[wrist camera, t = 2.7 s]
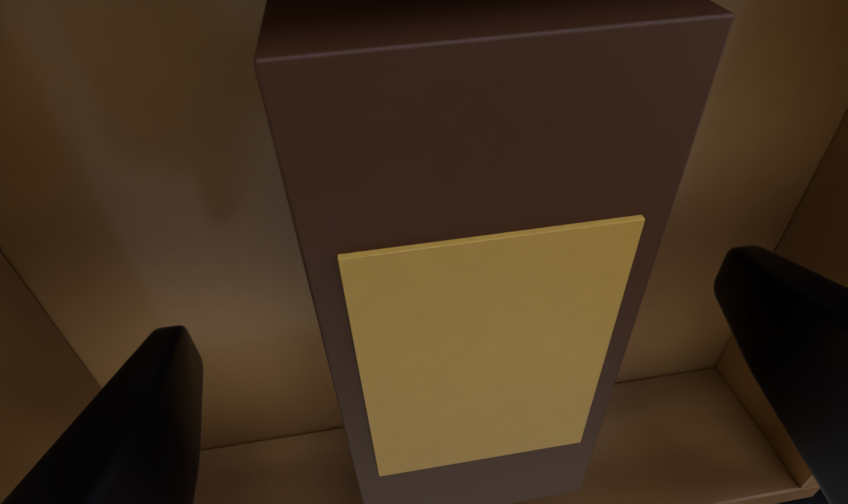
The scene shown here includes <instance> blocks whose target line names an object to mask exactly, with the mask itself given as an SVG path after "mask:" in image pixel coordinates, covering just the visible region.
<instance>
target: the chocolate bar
mask: <svg viewBox="0 0 848 504" xmlns="http://www.w3.org/2000/svg"><path fill="white" fill-rule="evenodd" d="M733 21H734V13H733V12H731V11H729V10H727V9H725V8H723V7H722V6H720V5H718V4H716V3H714V2H712V1H710V0H266V5H265V10H264V14H263V19H262V24H261V28H260V33H259V38H258V42H257V47H256V52H255V57H254V62H253V64H254V68H255V72H256V76H257V80H258V84H259V88H260V92H261V96H262V100H263V104H264V108H265V112H266V116H267V120H268V124H269V128H270V132H271V136H272V140H273V144H274V148H275V152H276V156H277V160H278V164H279V168H280V172H281V176H282V180H283V184H284V188H285V192H286V196H287V200H288V204H289V208H290V212H291V216H292V220H293V224H294V228H295V232H296V236H297V240H298V244H299V248H300V252H301V256H302V260H303V264H304V268H305V272H306V276H307V280H308V284H309V288H310V292H311V296H312V300H313V304H314V308H315V312H316V316H317V320H318V324H319V328H320V333H321V337H322V341H323V345H324V349H325V353H326V357H327V361H328V365H329V369H330V373H331V377H332V381H333V385H334V389H335V393H336V397H337V401H338V405H339V409H340V413H341V417H342V421H343V425H344V429H345V433H346V437H347V441H348V445H349V449H350V453H351V457H352V461H353V465H354V469H355V473H356V477H357V481H358V485H359V489H360V493H361V497H362V501H363V504H509V503H515V502H520V501H526V500H531V499H537V498H543V497H548V496H554V495H559V494H565V493H570V492H576V491H580V489H581V486H582V483H583V480H584V477H585V474H586V471H587V468H588V465H589V462H590V459H591V455H592V452H593V449H594V446H595V443H596V440H597V437H598V434H599V431H600V428H601V425H602V422H603V419H604V416H605V413H606V410H607V406H608V403H609V400H610V397H611V394H612V391H613V388H614V385H615V382H616V379H617V376H618V373H619V370H620V367H621V364H622V361H623V357H624V354H625V351H626V348H627V345H628V342H629V339H630V336H631V333H632V330H633V327H634V324H635V321H636V318H637V315H638V312H639V308H640V305H641V302H642V299H643V296H644V293H645V290H646V287H647V284H648V281H649V278H650V275H651V272H652V269H653V266H654V263H655V260H656V256H657V253H658V250H659V247H660V244H661V241H662V238H663V235H664V232H665V229H666V226H667V223H668V220H669V217H670V214H671V211H672V207H673V204H674V201H675V198H676V195H677V192H678V189H679V186H680V183H681V180H682V177H683V174H684V171H685V168H686V165H687V162H688V158H689V155H690V152H691V149H692V146H693V143H694V140H695V137H696V134H697V131H698V128H699V125H700V122H701V119H702V116H703V113H704V109H705V106H706V103H707V100H708V97H709V94H710V91H711V88H712V85H713V82H714V79H715V76H716V73H717V70H718V67H719V64H720V61H721V57H722V54H723V51H724V48H725V45H726V42H727V39H728V36H729V33H730V30H731V27H732V24H733Z"/></svg>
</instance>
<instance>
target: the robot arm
mask: <svg viewBox="0 0 848 504" xmlns="http://www.w3.org/2000/svg"><path fill="white" fill-rule="evenodd" d="M713 288H714V294H715V297H716V299H717V301H718V303H719V305H720V308H721V310H722V312H723V314H724V316H725V318H726V321H727V323H728V325H729V327H730V329H731V331H732V333H733V336H734V338H735V340H736V342H737V344H738V346H739V348H740V351H741V353H742V355H743V357H744V359H745V361H746V363H747V365H748V367H749V369H750V371H751V373H752V375H753V376H754V378H755V380H756V382H757V384H758V385H759V387H760V389H761V390H762V392H763V394H764V395H765V397H766V399H767V400H768V402H769V404H770V405H771V407H772V409H773V410H774V412H775V414H776V415H777V417H778V419H779V420H780V422H781V424H782V425H783V427H784V429H785V430H786V432H787V433H788V435H789V437H790V438H791V440H792V442H793V443H794V445H795V447H796V448H797V450H798V452H799V453H800V455H801V457H802V458H803V460H804V462H805V463H806V465H807V467H808V468H809V470H810V472H811V473H812V475H813V477H814V478H815V480H816V482H817V483H818V485H819V487H820V489H819V490H818V491H817V492H816V493H815V494H814V495H813V496H812V497H807V498H801V499H796V500H791V501H785V502H780V503H775V504H848V288H847V287H845V286H843V285H840V284H838V283H836V282H834V281H832V280H830V279H828V278H826V277H824V276H821V275H819V274H817V273H815V272H813V271H811V270H809V269H807V268H804V267H802V266H800V265H798V264H796V263H794V262H792V261H790V260H787V259H785V258H783V257H781V256H779V255H777V254H775V253H773V252H771V251H768V250H766V249H764V248H762V247H760V246H757V245H747V246H740V247H734V248H731V249H730V250H729V251H728V252H727V253H726V255H725V257H724V260H723V262H722V264H721V266H720V269H719V271H718V273H717V276H716V278H715V280H714V285H713ZM202 395H203V362H202V359H201V356H200V354H199V352H198V350H197V348H196V346H195V344H194V342H193V340H192V338H191V336H190V334H189V332H188V330H187V329H186V328H185V327H184V326H182V325H175V326H168V327H161V328H157V329H155V330H154V331H153V332H152V333H151V334H150V335H149V336H148V337H147V338H146V339H145V341H144V342H143V343H142V344H141V345H140V346H139V347H138V348H137V350H136V351H135V352H134V353H133V354H132V355H131V356H130V358H129V359H128V360H127V361H126V362H125V363H124V364H123V365H122V367H121V368H120V369H119V370H118V371H117V372H116V373H115V375H114V376H113V377H112V378H111V379H110V380H109V381H108V383H107V384H106V385H105V386H104V387H103V388H102V389H101V390H100V392H99V393H98V394H97V395H96V396H95V397H94V398H93V400H92V401H91V402H90V403H89V404H88V405H87V406H86V407H85V409H84V410H83V411H82V412H81V413H80V414H79V415H78V417H77V418H76V419H75V420H74V421H73V422H72V423H71V425H70V426H69V427H68V428H67V429H66V430H65V431H64V432H63V434H62V435H61V436H60V437H59V438H58V439H57V440H56V442H55V443H54V444H53V445H52V446H51V447H50V448H49V449H48V451H47V452H46V453H45V454H44V455H43V456H42V457H41V459H40V460H39V461H38V462H37V463H36V464H35V465H34V466H33V468H32V469H31V470H30V471H29V472H28V473H27V474H26V476H25V477H24V478H23V479H22V480H21V481H20V482H19V484H18V485H17V486H16V487H15V488H14V489H13V490H12V491H11V493H10V494H9V495H8V496H7V497H6V498H5V499H4V501H3V502H2V503H1V504H193V502H194V496H195V490H196V484H197V477H198V470H199V462H200V447H201V421H202Z"/></svg>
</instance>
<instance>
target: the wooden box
mask: <svg viewBox="0 0 848 504" xmlns="http://www.w3.org/2000/svg"><path fill="white" fill-rule="evenodd" d="M710 1H712V2H714V3H716V4H718V5H720V6H722V7H723V8H725V9H727V10H729V11H731V12H733V13H734V21H733V24H732V27H731V30H730V33H729V36H728V39H727V42H726V45H725V48H724V51H723V54H722V57H721V61H720V64H719V67H718V70H717V73H716V76H715V79H714V82H713V85H712V88H711V91H710V94H709V97H708V100H707V103H706V106H705V109H704V113H703V116H702V119H701V122H700V125H699V128H698V131H697V134H696V137H695V140H694V143H693V146H692V149H691V152H690V155H689V158H688V162H687V165H686V168H685V171H684V174H683V177H682V180H681V183H680V186H679V189H678V192H677V195H676V198H675V201H674V204H673V207H672V211H671V214H670V217H669V220H668V223H667V226H666V229H665V232H664V235H663V238H662V241H661V244H660V247H659V250H658V253H657V256H656V260H655V263H654V266H653V269H652V272H651V275H650V278H649V281H648V284H647V287H646V290H645V293H644V296H643V299H642V302H641V305H640V308H639V312H638V315H637V318H636V321H635V324H634V327H633V330H632V333H631V336H630V339H629V342H628V345H627V348H626V351H625V354H624V357H623V361H622V364H621V367H620V370H619V373H618V376H617V379H616V382H615V385H614V388H613V391H612V394H611V397H610V400H609V403H608V406H607V410H606V413H605V416H604V419H603V422H602V425H601V428H600V431H599V434H598V437H597V440H596V443H595V446H594V449H593V452H592V455H591V459H590V462H589V465H588V468H587V471H586V474H585V477H584V480H583V483H582V486H581V489H580V491H576V492H570V493H565V494H559V495H554V496H548V497H543V498H537V499H531V500H526V501H520V502H515V503H509V504H775V503H780V502H785V501H791V500H796V499H801V498H807V497H812V496H813V495H814V494H815V493H816V492H817V491H818V490H819V489H820V487H819V485H818V483H817V482H816V480H815V478H814V477H813V475H812V473H811V472H810V470H809V468H808V467H807V465H806V463H805V462H804V460H803V458H802V457H801V455H800V453H799V452H798V450H797V448H796V447H795V445H794V443H793V442H792V440H791V438H790V437H789V435H788V433H787V432H786V430H785V429H784V427H783V425H782V424H781V422H780V420H779V419H778V417H777V415H776V414H775V412H774V410H773V409H772V407H771V405H770V404H769V402H768V400H767V399H766V397H765V395H764V394H763V392H762V390H761V389H760V387H759V385H758V384H757V382H756V380H755V378H754V376H753V375H752V373H751V371H750V369H749V367H748V365H747V363H746V361H745V359H744V357H743V355H742V353H741V351H740V348H739V346H738V344H737V342H736V340H735V338H734V336H733V333H732V331H731V329H730V327H729V325H728V323H727V321H726V318H725V316H724V314H723V312H722V310H721V308H720V305H719V303H718V301H717V299H716V297H715V294H714V288H713V285H714V280H715V278H716V276H717V273H718V271H719V269H720V266H721V264H722V262H723V260H724V257H725V255H726V253H727V252H728V251H729V250H730V249H731V248H734V247H740V246H747V245H757V246H760V247H762V248H764V249H766V250H768V251H771V252H773V253H775V254H777V255H779V256H781V257H783V258H785V259H787V260H790V261H792V262H794V263H796V264H798V265H800V266H802V267H804V268H807V269H809V270H811V271H813V272H815V273H817V274H819V275H821V276H824V277H826V278H828V279H830V280H832V281H834V282H836V283H838V284H840V285H843V286H845V287H847V288H848V0H710ZM265 5H266V0H0V504H1V503H2V502H3V501H4V499H5V498H6V497H7V496H8V495H9V494H10V493H11V491H12V490H13V489H14V488H15V487H16V486H17V485H18V484H19V482H20V481H21V480H22V479H23V478H24V477H25V476H26V474H27V473H28V472H29V471H30V470H31V469H32V468H33V466H34V465H35V464H36V463H37V462H38V461H39V460H40V459H41V457H42V456H43V455H44V454H45V453H46V452H47V451H48V449H49V448H50V447H51V446H52V445H53V444H54V443H55V442H56V440H57V439H58V438H59V437H60V436H61V435H62V434H63V432H64V431H65V430H66V429H67V428H68V427H69V426H70V425H71V423H72V422H73V421H74V420H75V419H76V418H77V417H78V415H79V414H80V413H81V412H82V411H83V410H84V409H85V407H86V406H87V405H88V404H89V403H90V402H91V401H92V400H93V398H94V397H95V396H96V395H97V394H98V393H99V392H100V390H101V389H102V388H103V387H104V386H105V385H106V384H107V383H108V381H109V380H110V379H111V378H112V377H113V376H114V375H115V373H116V372H117V371H118V370H119V369H120V368H121V367H122V365H123V364H124V363H125V362H126V361H127V360H128V359H129V358H130V356H131V355H132V354H133V353H134V352H135V351H136V350H137V348H138V347H139V346H140V345H141V344H142V343H143V342H144V341H145V339H146V338H147V337H148V336H149V335H150V334H151V333H152V332H153V331H154V330H155V329H157V328H161V327H168V326H175V325H182V326H184V327H185V328H186V329H187V330H188V332H189V334H190V336H191V338H192V340H193V342H194V344H195V346H196V348H197V350H198V352H199V354H200V356H201V359H202V362H203V395H202V421H201V447H200V462H199V470H198V477H197V484H196V490H195V496H194V502H193V504H363V501H362V497H361V493H360V489H359V485H358V481H357V477H356V473H355V469H354V465H353V461H352V457H351V453H350V449H349V445H348V441H347V437H346V433H345V429H344V425H343V421H342V417H341V413H340V409H339V405H338V401H337V397H336V393H335V389H334V385H333V381H332V377H331V373H330V369H329V365H328V361H327V357H326V353H325V349H324V345H323V341H322V337H321V333H320V328H319V324H318V320H317V316H316V312H315V308H314V304H313V300H312V296H311V292H310V288H309V284H308V280H307V276H306V272H305V268H304V264H303V260H302V256H301V252H300V248H299V244H298V240H297V236H296V232H295V228H294V224H293V220H292V216H291V212H290V208H289V204H288V200H287V196H286V192H285V188H284V184H283V180H282V176H281V172H280V168H279V164H278V160H277V156H276V152H275V148H274V144H273V140H272V136H271V132H270V128H269V124H268V120H267V116H266V112H265V108H264V104H263V100H262V96H261V92H260V88H259V84H258V80H257V76H256V72H255V68H254V64H253V62H254V57H255V52H256V47H257V42H258V38H259V33H260V28H261V24H262V19H263V14H264V10H265Z"/></svg>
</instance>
